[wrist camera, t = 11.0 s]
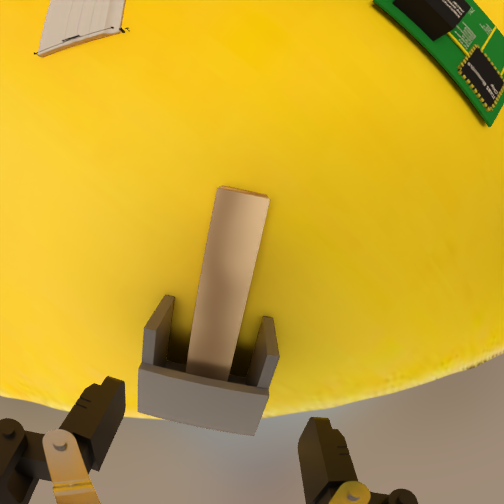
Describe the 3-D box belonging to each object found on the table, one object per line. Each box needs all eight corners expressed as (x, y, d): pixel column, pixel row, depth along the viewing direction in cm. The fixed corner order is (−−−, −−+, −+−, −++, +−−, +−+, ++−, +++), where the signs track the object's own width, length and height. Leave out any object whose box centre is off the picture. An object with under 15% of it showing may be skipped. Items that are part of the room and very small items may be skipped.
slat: (266, 194, 27) (270, 199, 23) (228, 361, 32) (225, 389, 27) (222, 185, 27) (217, 188, 22) (192, 353, 31) (184, 381, 27)
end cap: (273, 318, 30) (280, 363, 22) (252, 385, 32) (254, 436, 25) (165, 294, 29) (140, 333, 22) (157, 365, 32) (137, 411, 24)
